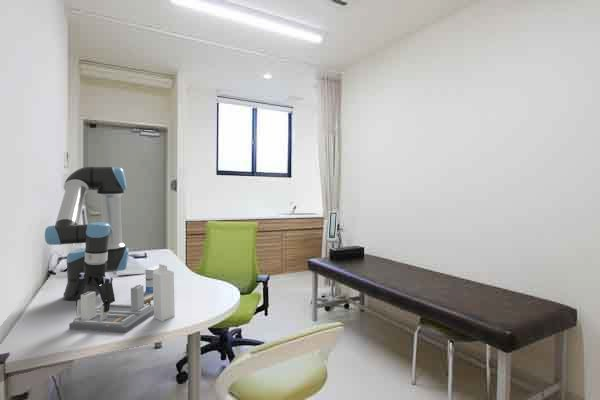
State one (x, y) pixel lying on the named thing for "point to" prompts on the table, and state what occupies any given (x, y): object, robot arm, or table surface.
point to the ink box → (150, 278)
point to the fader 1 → (88, 305)
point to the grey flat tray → (114, 319)
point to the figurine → (148, 300)
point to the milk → (163, 293)
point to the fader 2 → (137, 298)
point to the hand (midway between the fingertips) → (91, 317)
